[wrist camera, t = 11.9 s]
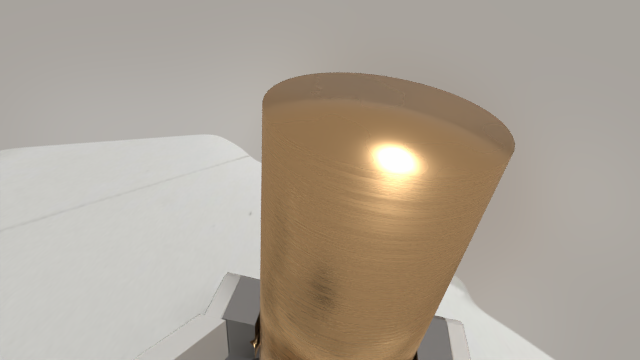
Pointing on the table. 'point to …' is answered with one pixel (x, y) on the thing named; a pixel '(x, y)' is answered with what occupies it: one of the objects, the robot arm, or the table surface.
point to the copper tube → (367, 211)
